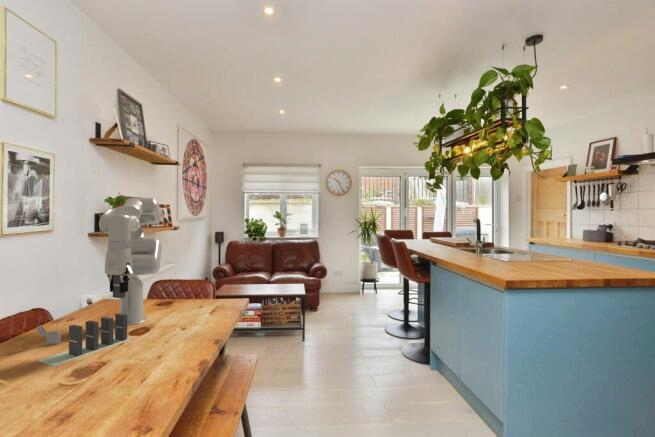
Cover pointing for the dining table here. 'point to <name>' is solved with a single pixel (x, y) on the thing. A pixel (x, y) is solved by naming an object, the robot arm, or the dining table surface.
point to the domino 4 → (117, 287)
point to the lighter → (50, 336)
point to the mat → (67, 357)
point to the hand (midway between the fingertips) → (118, 291)
